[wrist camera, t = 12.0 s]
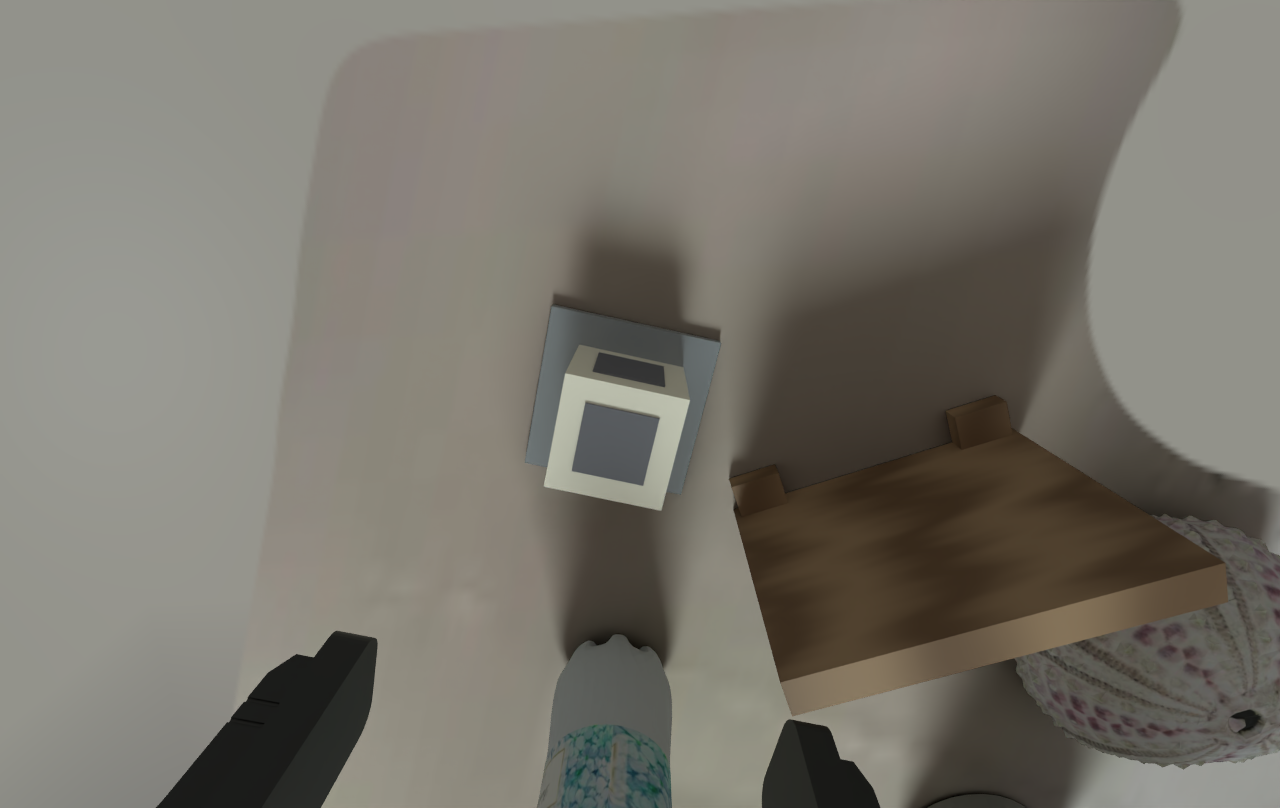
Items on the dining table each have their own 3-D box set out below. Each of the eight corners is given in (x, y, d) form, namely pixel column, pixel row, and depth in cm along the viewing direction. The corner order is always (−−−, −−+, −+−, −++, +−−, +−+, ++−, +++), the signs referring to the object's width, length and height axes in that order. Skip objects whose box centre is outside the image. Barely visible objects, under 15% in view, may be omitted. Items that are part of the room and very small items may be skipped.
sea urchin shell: (1300, 563, 32) (1500, 675, 25) (1121, 736, 36) (1246, 878, 29) (1106, 451, 31) (1257, 534, 23) (939, 646, 34) (1021, 772, 27)
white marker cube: (659, 462, 30) (661, 512, 26) (560, 441, 30) (543, 487, 25) (683, 365, 29) (690, 398, 24) (579, 342, 29) (565, 371, 24)
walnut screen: (1001, 393, 30) (1222, 514, 18) (1017, 482, 31) (1230, 645, 20) (723, 480, 31) (765, 641, 20) (751, 560, 33) (805, 754, 21)
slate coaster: (720, 340, 29) (721, 343, 28) (680, 490, 31) (680, 494, 31) (553, 304, 28) (551, 306, 28) (526, 458, 31) (524, 462, 31)
